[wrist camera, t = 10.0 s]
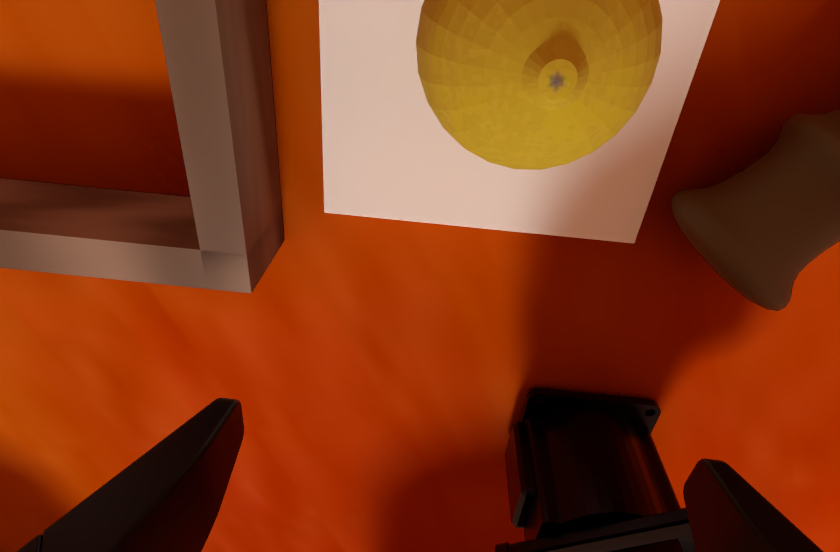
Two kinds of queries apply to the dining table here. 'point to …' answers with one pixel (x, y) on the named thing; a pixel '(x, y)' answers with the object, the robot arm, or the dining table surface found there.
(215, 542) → the dining table surface
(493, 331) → the dining table surface
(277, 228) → the walnut rack
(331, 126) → the tile
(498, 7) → the lemon
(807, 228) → the kendama
